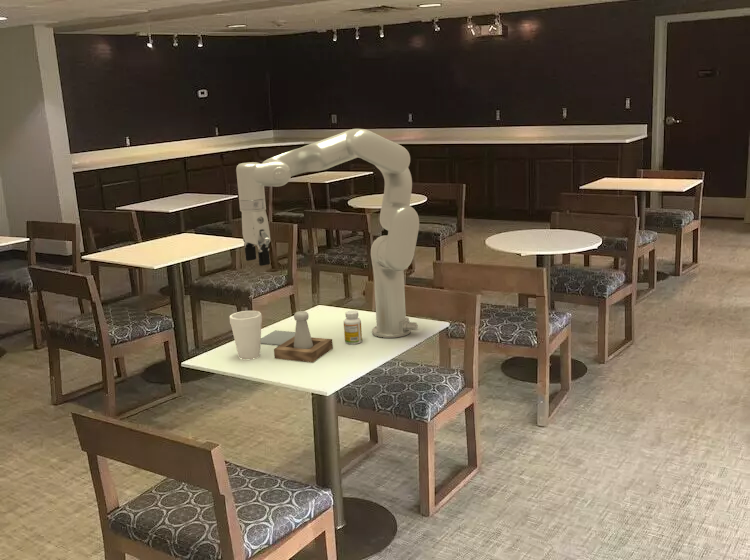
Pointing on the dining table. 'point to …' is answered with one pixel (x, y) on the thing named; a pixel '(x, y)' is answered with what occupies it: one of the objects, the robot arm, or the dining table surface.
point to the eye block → (303, 350)
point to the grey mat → (277, 337)
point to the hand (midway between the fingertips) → (257, 262)
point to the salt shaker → (302, 331)
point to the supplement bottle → (352, 328)
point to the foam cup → (247, 333)
